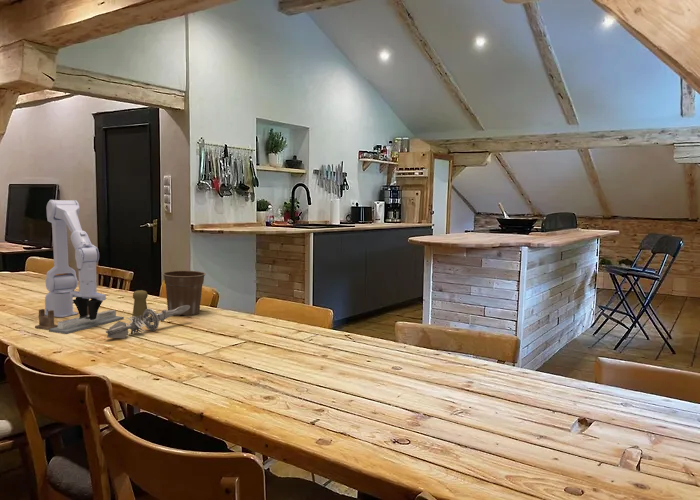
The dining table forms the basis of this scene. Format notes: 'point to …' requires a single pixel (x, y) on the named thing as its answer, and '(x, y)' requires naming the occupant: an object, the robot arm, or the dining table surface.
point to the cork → (139, 303)
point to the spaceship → (142, 322)
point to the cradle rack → (48, 319)
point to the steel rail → (85, 320)
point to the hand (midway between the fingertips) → (88, 318)
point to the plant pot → (184, 290)
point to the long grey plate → (86, 325)
